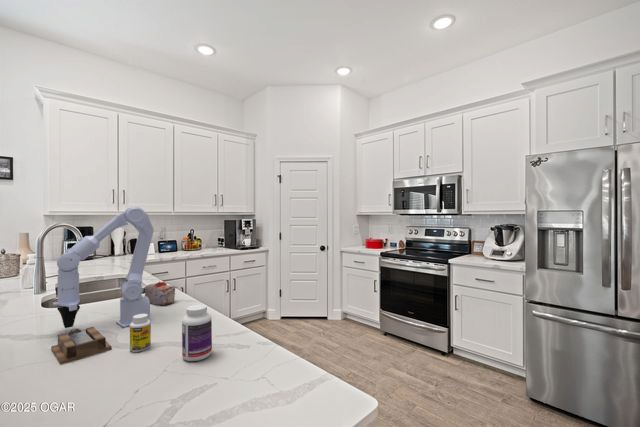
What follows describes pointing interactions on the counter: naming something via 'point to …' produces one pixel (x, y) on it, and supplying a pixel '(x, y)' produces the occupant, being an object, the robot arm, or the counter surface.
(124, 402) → the counter surface
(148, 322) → the supplement bottle
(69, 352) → the housing
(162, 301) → the food item
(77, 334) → the door stop
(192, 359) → the pill bottle
